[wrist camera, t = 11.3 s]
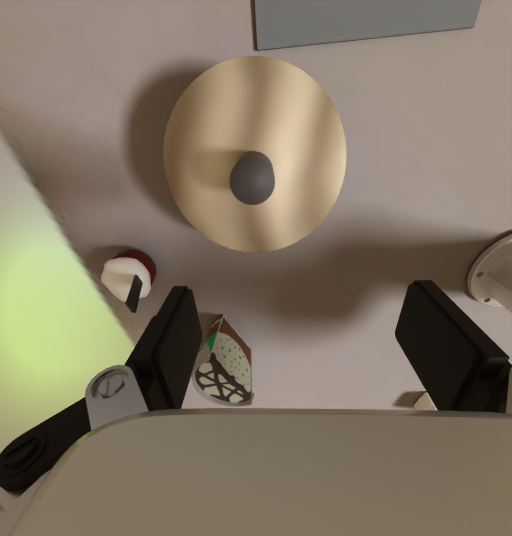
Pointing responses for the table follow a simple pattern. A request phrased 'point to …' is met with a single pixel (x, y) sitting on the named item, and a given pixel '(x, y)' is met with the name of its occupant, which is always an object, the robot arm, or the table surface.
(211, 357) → the food container
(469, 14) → the mat
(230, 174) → the lid
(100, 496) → the robot arm
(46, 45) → the table surface
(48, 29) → the table surface
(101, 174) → the table surface
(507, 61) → the table surface
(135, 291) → the cocoa
